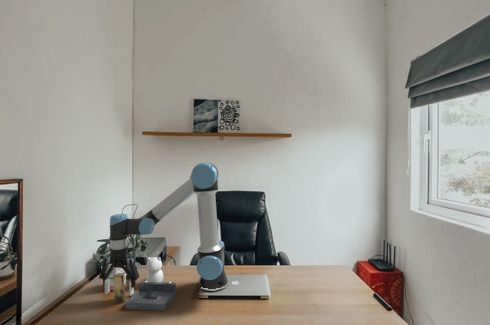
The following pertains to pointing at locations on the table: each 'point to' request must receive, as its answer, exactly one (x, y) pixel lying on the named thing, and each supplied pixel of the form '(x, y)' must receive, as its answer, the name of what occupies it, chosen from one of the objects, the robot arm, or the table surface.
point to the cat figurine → (154, 269)
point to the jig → (152, 296)
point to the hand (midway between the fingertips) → (119, 293)
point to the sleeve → (119, 287)
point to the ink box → (111, 276)
